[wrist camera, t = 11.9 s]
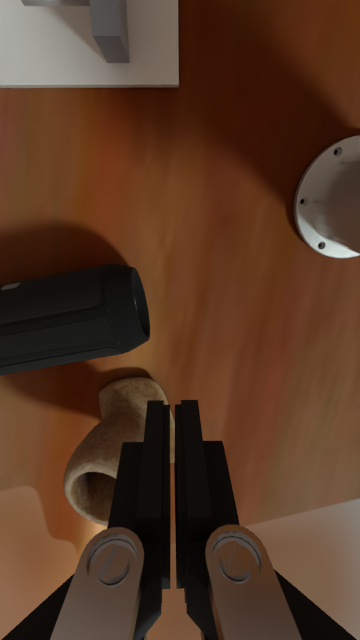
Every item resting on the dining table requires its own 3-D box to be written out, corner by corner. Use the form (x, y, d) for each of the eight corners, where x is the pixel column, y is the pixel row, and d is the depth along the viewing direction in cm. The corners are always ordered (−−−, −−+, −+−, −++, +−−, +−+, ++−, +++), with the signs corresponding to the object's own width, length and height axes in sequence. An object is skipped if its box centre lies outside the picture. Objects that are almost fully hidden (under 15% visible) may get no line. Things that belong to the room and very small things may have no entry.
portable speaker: (135, 250, 37) (124, 274, 28) (153, 324, 41) (149, 366, 32) (-68, 290, 39) (-142, 325, 29) (-31, 358, 43) (-86, 407, 34)
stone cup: (79, 382, 45) (38, 473, 31) (161, 366, 44) (156, 452, 30) (111, 458, 51) (89, 562, 37) (183, 445, 50) (188, 546, 36)
